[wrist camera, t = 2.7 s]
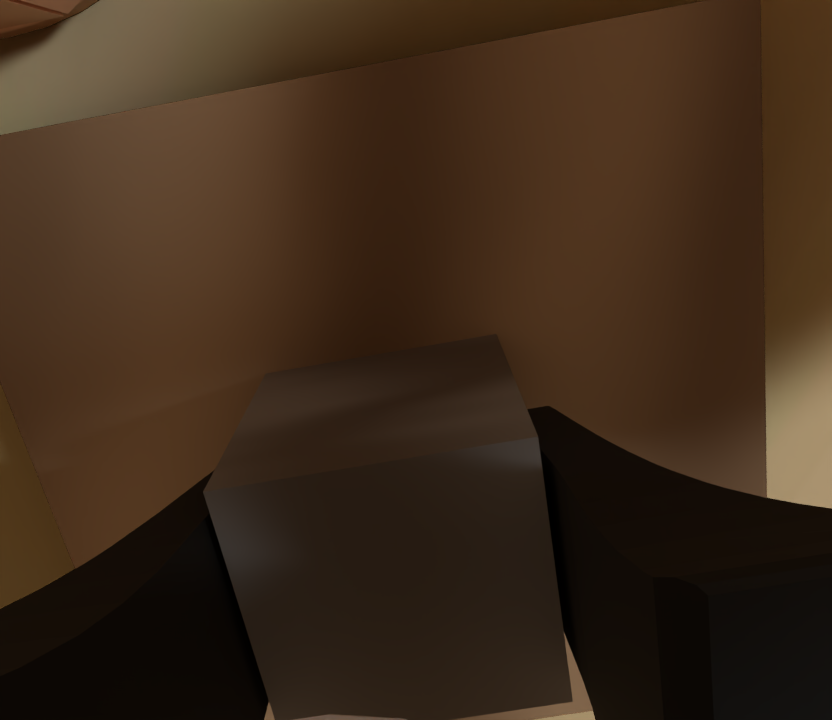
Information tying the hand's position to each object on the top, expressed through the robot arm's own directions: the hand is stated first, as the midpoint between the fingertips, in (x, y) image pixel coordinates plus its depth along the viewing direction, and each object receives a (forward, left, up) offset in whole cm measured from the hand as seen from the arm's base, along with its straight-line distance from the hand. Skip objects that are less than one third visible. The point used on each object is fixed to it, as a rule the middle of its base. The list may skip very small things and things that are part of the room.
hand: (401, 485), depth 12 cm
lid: (0, 0, -2) cm, 2 cm away
